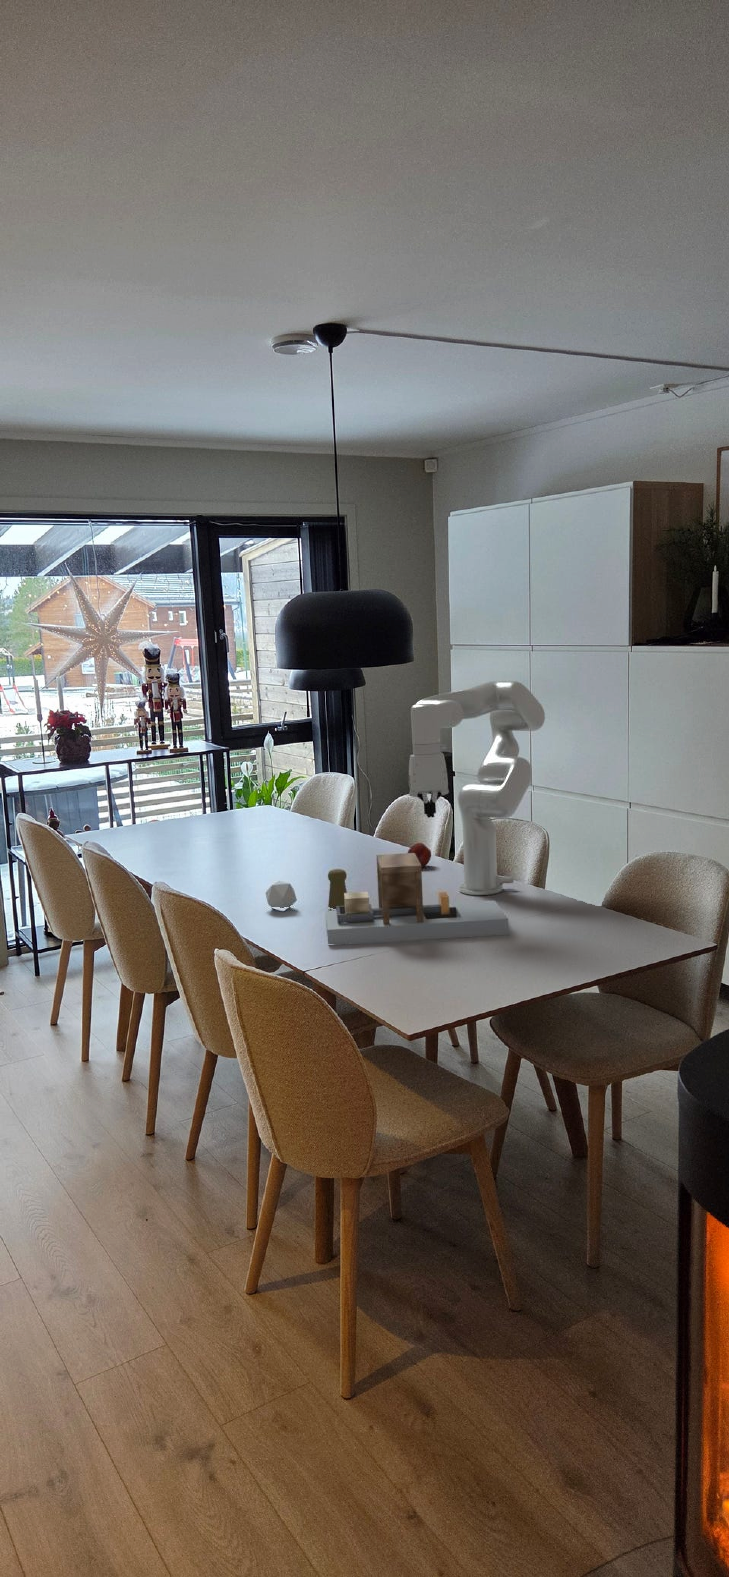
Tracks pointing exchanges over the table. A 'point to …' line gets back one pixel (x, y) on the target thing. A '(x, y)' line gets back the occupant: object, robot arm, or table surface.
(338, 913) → the sled
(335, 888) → the tan pawn
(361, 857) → the table surface
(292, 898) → the die
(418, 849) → the apple
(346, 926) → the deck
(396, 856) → the tunnel
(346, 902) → the block
